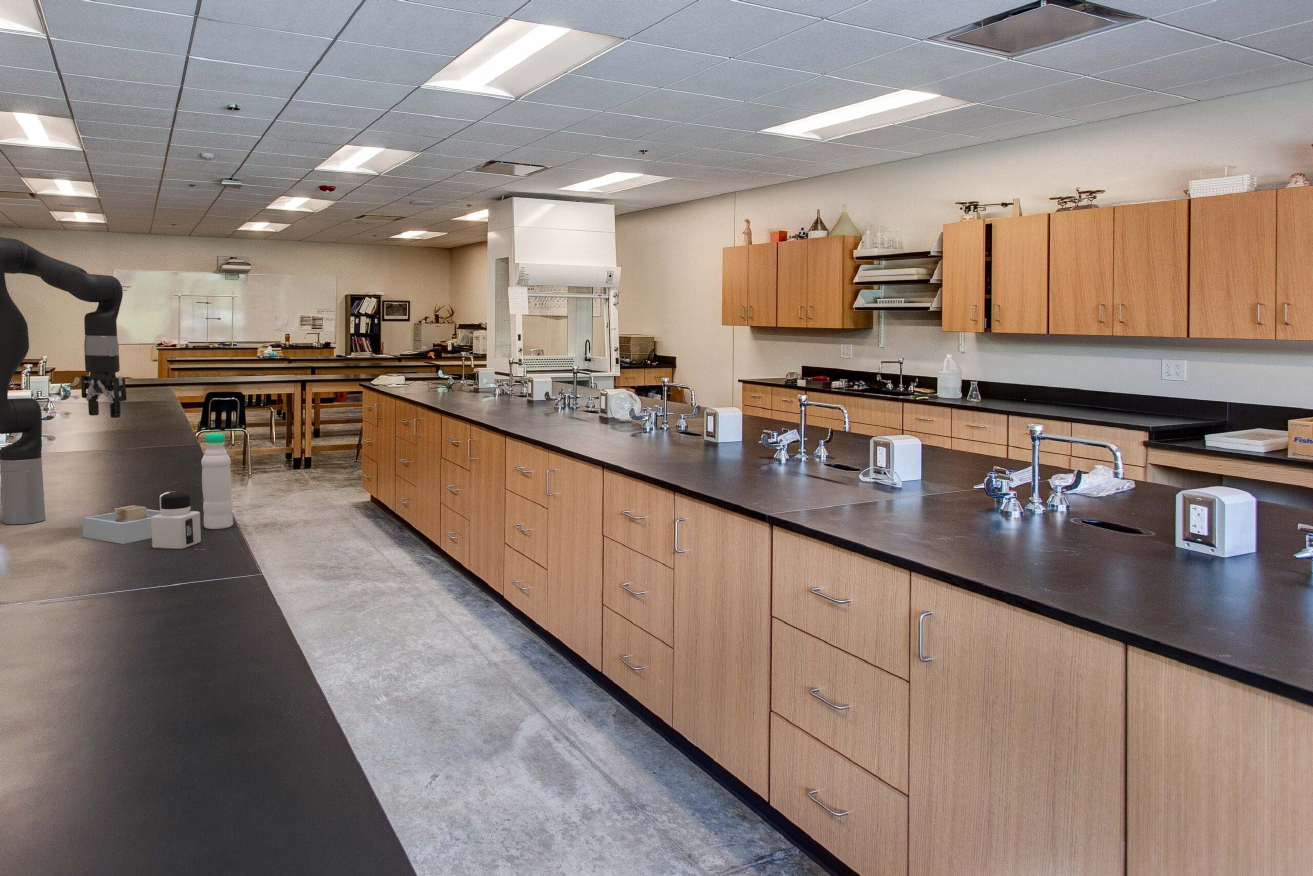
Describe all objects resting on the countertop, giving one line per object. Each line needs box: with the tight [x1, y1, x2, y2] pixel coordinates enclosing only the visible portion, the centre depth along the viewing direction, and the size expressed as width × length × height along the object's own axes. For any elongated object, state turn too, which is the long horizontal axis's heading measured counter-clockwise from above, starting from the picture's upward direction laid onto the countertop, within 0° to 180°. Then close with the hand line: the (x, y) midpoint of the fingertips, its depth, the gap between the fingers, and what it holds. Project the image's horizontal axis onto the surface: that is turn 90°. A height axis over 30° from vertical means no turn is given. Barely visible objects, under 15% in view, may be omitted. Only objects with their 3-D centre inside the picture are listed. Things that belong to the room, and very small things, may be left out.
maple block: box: [114, 504, 147, 523], centre depth 226 cm, size 5×5×6 cm
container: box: [151, 490, 202, 550], centre depth 216 cm, size 8×8×13 cm
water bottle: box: [200, 432, 234, 530], centre depth 236 cm, size 7×7×25 cm
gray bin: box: [82, 508, 162, 545], centre depth 227 cm, size 15×15×5 cm
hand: (104, 416), depth 230 cm, fingers open, 8 cm apart
